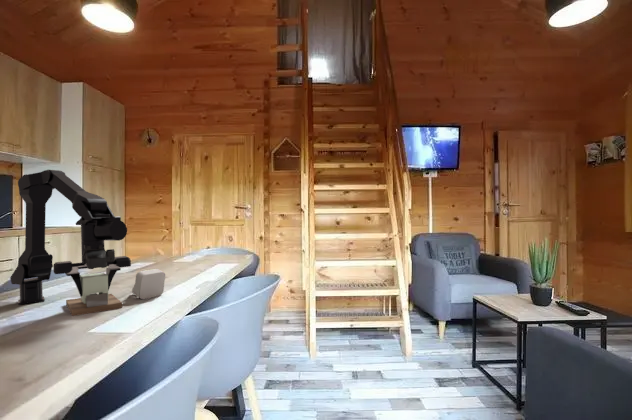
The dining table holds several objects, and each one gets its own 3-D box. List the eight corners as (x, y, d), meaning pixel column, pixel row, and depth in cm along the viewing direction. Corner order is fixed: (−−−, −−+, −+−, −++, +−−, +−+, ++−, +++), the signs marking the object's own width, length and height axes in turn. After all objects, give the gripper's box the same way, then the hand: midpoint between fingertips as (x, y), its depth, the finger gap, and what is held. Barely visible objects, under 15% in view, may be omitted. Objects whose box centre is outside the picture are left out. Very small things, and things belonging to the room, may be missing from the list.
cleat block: (80, 299, 108) (80, 275, 108) (104, 295, 112) (103, 272, 112) (83, 303, 102) (83, 278, 102) (108, 299, 106) (107, 275, 106)
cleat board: (66, 305, 111) (65, 290, 111) (111, 298, 118) (110, 284, 118) (72, 316, 98) (71, 299, 98) (122, 307, 106) (121, 292, 106)
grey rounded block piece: (145, 289, 128) (148, 262, 126) (162, 300, 122) (165, 271, 121) (122, 294, 121) (125, 265, 120) (138, 305, 115) (141, 275, 114)
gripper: (55, 244, 95) (57, 305, 95) (134, 239, 107) (136, 293, 107) (52, 242, 104) (54, 298, 104) (125, 237, 115) (127, 287, 115)
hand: (94, 294), depth 107 cm, fingers closed on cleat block, 6 cm apart
